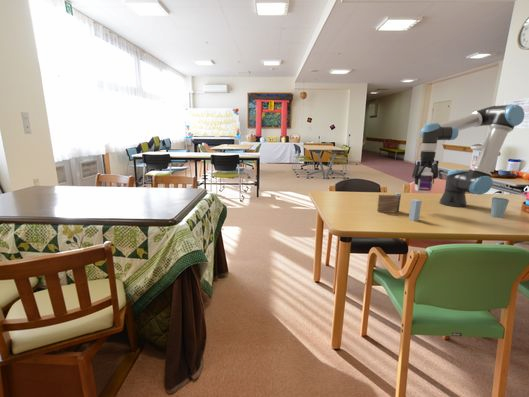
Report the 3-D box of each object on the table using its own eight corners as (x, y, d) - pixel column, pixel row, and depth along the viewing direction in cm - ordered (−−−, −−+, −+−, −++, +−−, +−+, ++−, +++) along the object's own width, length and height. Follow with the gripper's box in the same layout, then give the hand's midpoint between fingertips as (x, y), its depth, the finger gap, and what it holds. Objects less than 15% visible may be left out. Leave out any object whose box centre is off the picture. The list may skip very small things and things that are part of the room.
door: (398, 212, 173) (401, 195, 171) (377, 211, 174) (379, 195, 171) (397, 211, 175) (399, 194, 173) (376, 210, 176) (378, 194, 174)
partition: (396, 210, 177) (398, 192, 175) (418, 220, 158) (421, 201, 156) (391, 210, 177) (393, 192, 174) (413, 220, 158) (416, 201, 155)
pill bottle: (432, 193, 170) (436, 169, 166) (417, 193, 171) (420, 168, 168) (428, 190, 177) (431, 167, 174) (413, 190, 179) (416, 166, 175)
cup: (506, 216, 170) (510, 199, 167) (504, 219, 164) (508, 201, 162) (490, 213, 175) (493, 196, 172) (487, 216, 170) (491, 198, 167)
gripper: (439, 149, 174) (434, 187, 179) (407, 150, 170) (403, 188, 176) (449, 151, 167) (443, 190, 172) (416, 151, 163) (411, 191, 169)
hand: (423, 189), depth 174 cm, fingers closed on pill bottle, 8 cm apart
